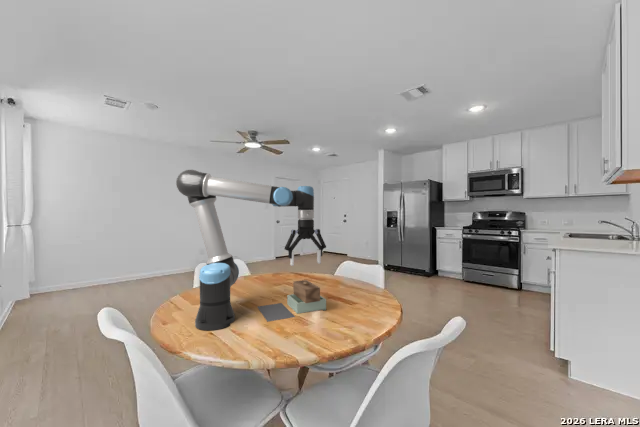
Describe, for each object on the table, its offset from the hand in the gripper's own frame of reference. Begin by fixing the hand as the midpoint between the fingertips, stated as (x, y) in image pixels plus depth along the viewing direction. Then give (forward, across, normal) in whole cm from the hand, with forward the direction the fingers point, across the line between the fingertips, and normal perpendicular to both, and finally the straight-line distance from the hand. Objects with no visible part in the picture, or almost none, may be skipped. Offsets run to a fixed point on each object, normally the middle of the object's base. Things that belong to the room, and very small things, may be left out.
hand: (305, 264), depth 129 cm
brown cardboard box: (+15, 0, 0) cm, 15 cm away
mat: (+20, -15, 0) cm, 25 cm away
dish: (+20, 0, 0) cm, 20 cm away
